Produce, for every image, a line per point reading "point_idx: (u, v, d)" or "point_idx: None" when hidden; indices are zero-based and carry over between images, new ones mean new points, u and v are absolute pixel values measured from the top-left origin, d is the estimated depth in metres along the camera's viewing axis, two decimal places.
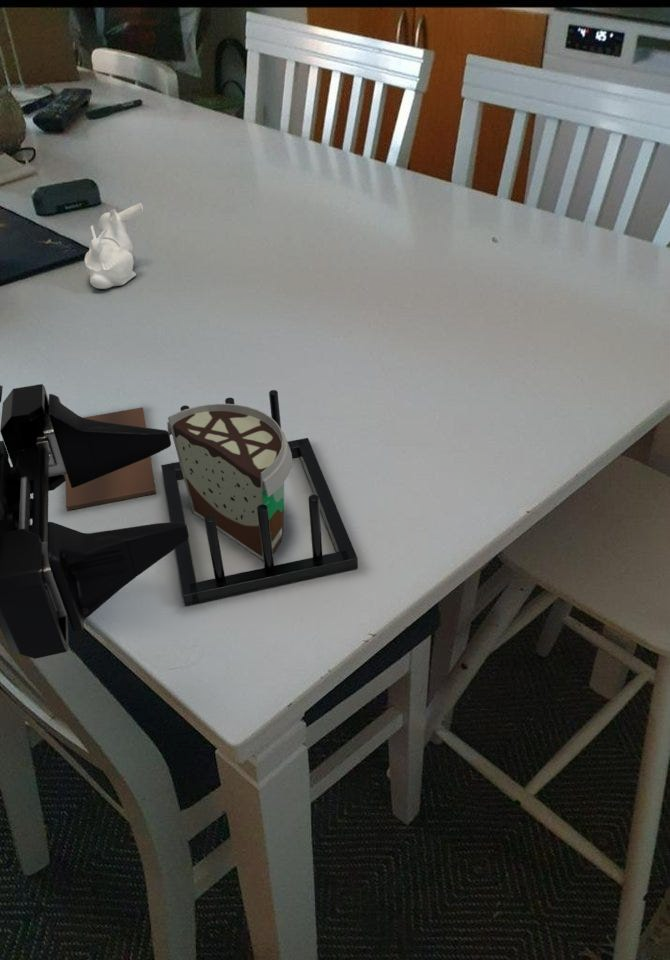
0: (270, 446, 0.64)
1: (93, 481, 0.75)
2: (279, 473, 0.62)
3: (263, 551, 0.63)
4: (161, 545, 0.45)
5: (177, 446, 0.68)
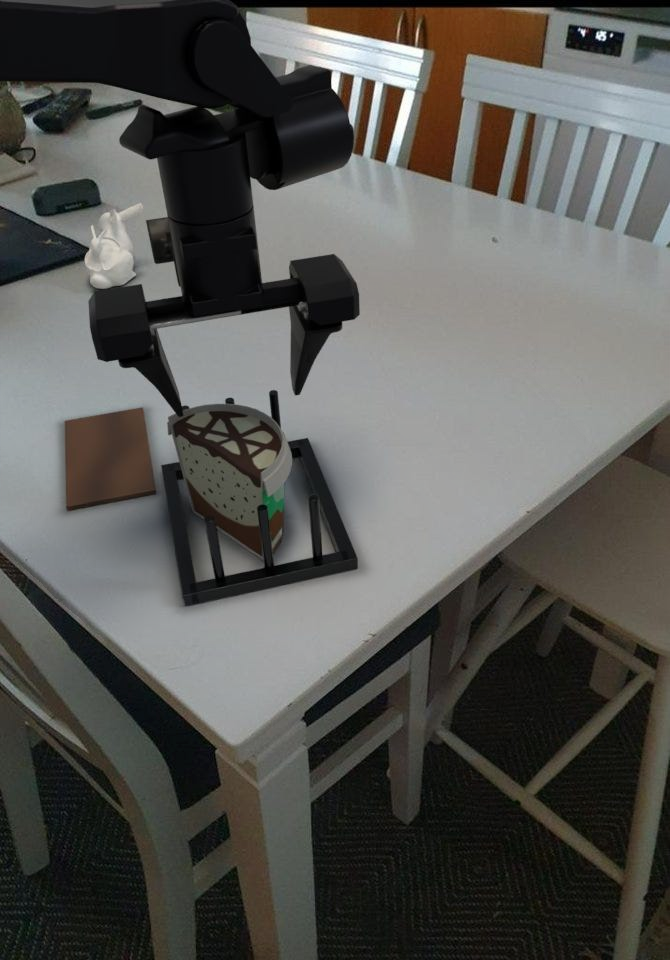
0: (270, 446, 0.64)
1: (93, 481, 0.75)
2: (279, 473, 0.62)
3: (263, 551, 0.63)
4: None
5: (177, 446, 0.68)
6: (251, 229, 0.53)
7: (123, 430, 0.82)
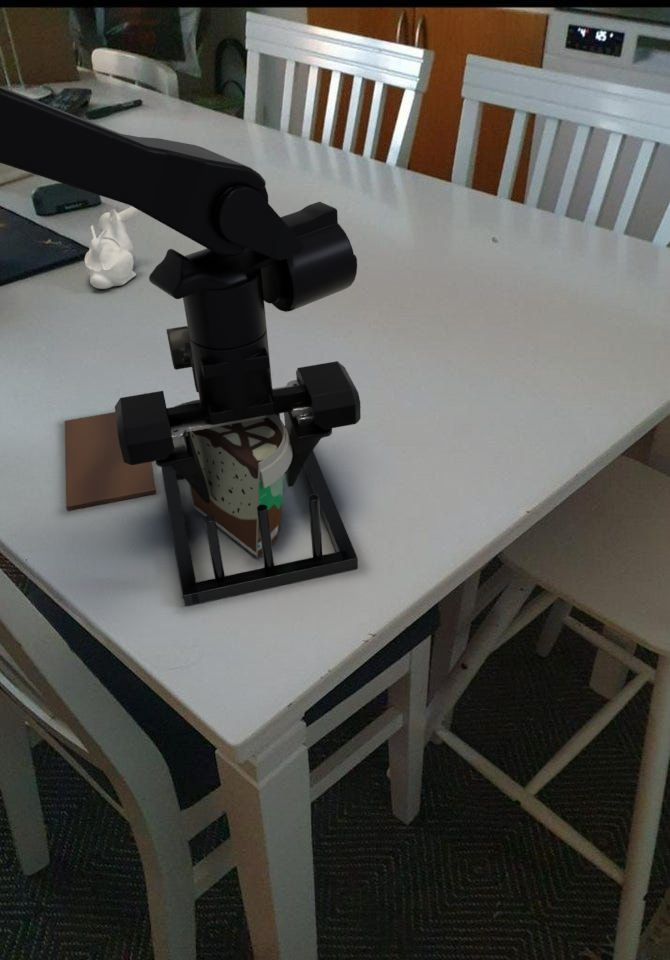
0: (271, 440, 0.65)
1: (93, 481, 0.75)
2: (277, 466, 0.62)
3: (263, 551, 0.63)
4: None
5: None
6: (264, 350, 0.59)
7: None
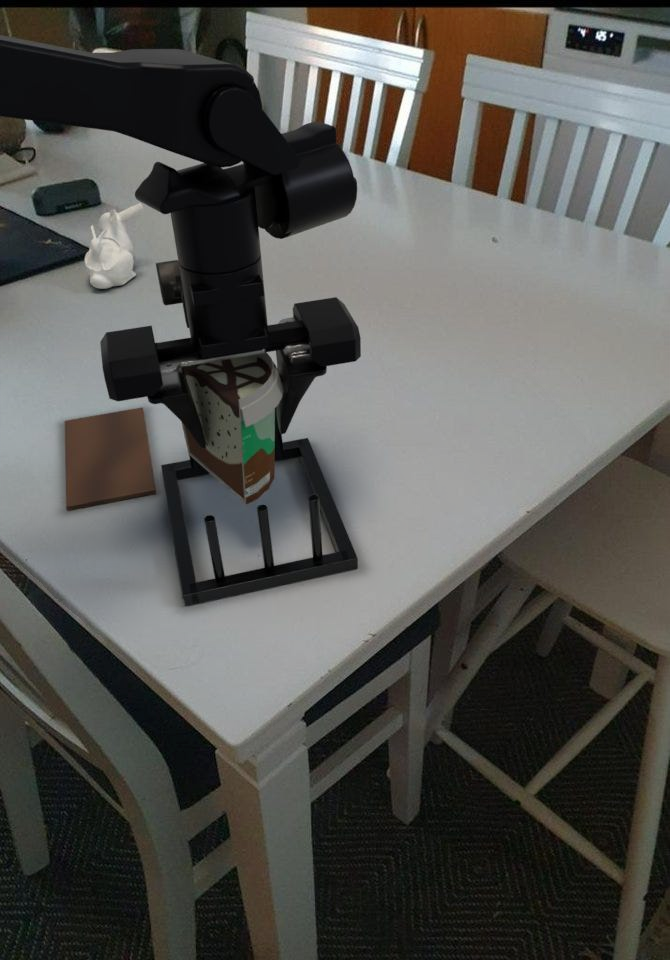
0: (260, 380, 0.61)
1: (93, 481, 0.75)
2: (261, 404, 0.59)
3: (263, 551, 0.63)
4: None
5: None
6: (259, 277, 0.55)
7: (123, 430, 0.82)
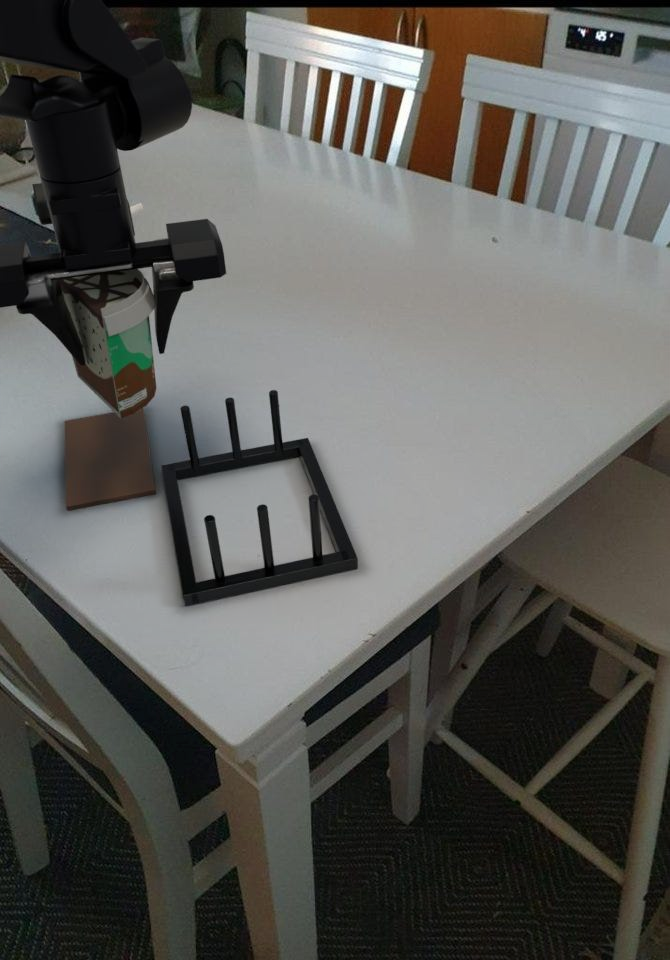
0: (130, 296, 0.64)
1: (93, 481, 0.75)
2: (125, 315, 0.61)
3: (263, 551, 0.63)
4: None
5: None
6: (116, 189, 0.58)
7: (123, 430, 0.82)
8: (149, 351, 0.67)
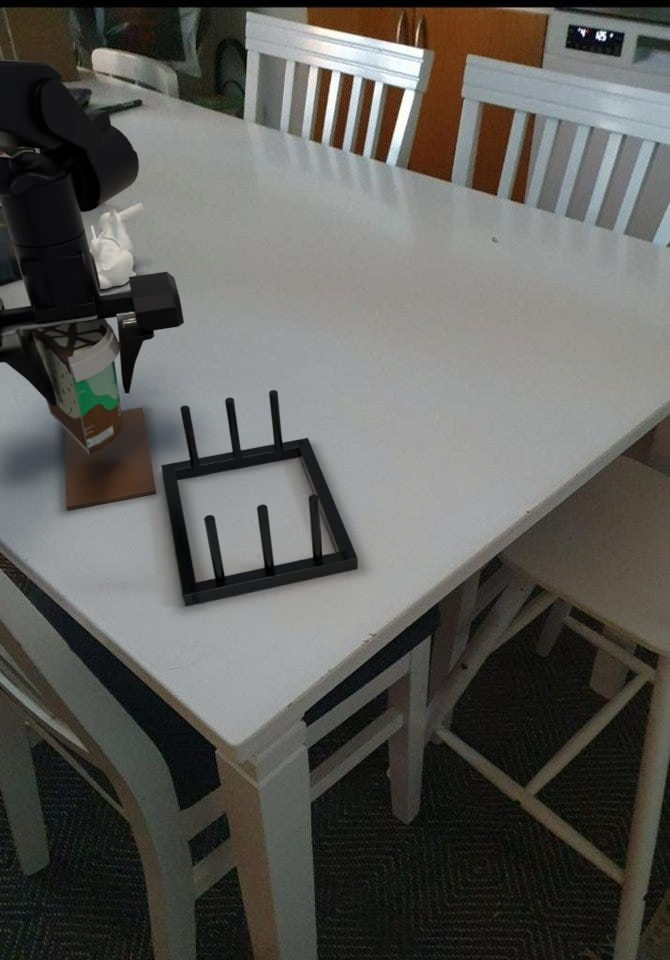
0: (96, 343, 0.70)
1: (93, 481, 0.75)
2: (91, 363, 0.67)
3: (263, 551, 0.63)
4: None
5: None
6: (80, 251, 0.64)
7: (123, 430, 0.82)
8: (115, 392, 0.73)
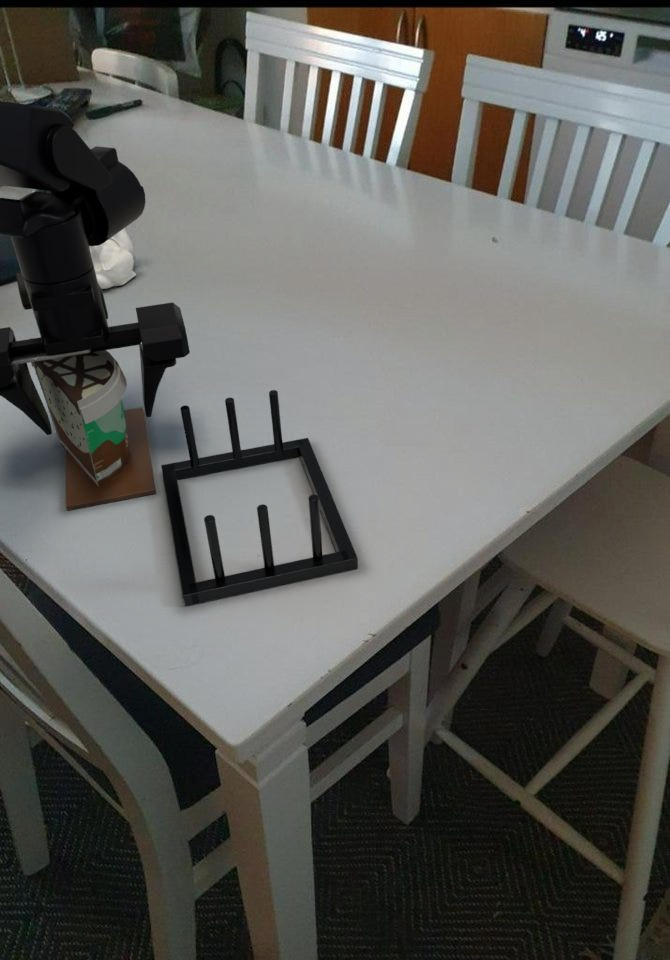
0: (103, 382, 0.72)
1: (93, 481, 0.75)
2: (99, 404, 0.69)
3: (263, 551, 0.63)
4: None
5: (39, 376, 0.76)
6: (90, 286, 0.66)
7: None
8: (122, 426, 0.75)
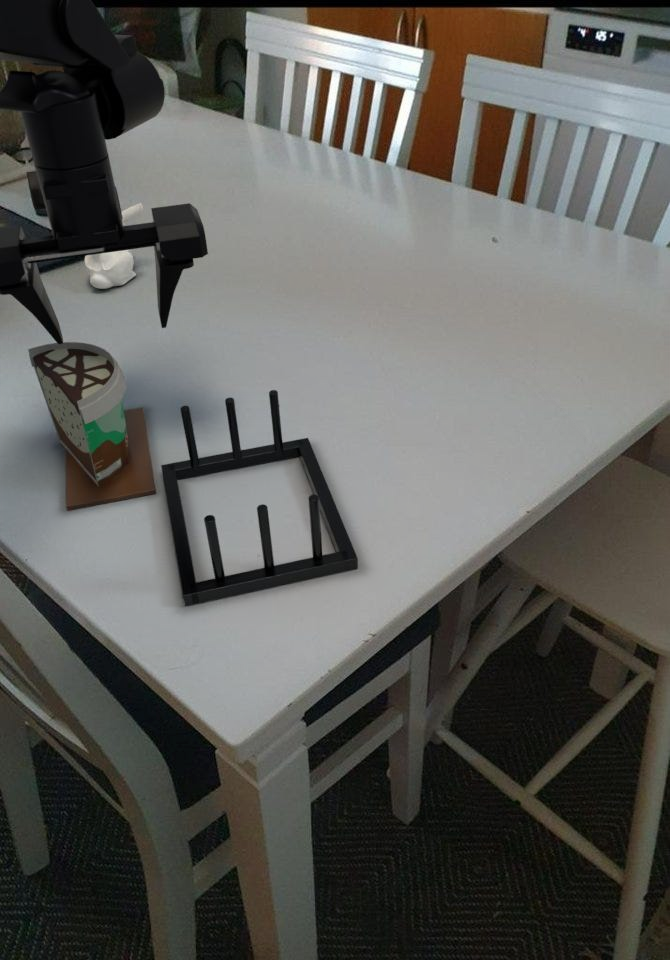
0: (103, 382, 0.72)
1: (93, 481, 0.75)
2: (99, 404, 0.69)
3: (263, 551, 0.63)
4: None
5: (39, 377, 0.76)
6: (104, 175, 0.63)
7: None
8: (122, 426, 0.75)
